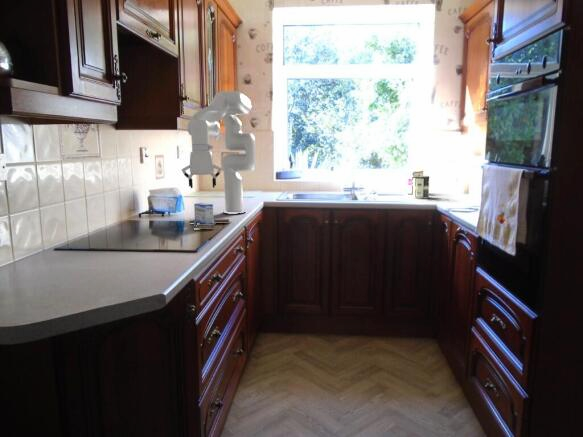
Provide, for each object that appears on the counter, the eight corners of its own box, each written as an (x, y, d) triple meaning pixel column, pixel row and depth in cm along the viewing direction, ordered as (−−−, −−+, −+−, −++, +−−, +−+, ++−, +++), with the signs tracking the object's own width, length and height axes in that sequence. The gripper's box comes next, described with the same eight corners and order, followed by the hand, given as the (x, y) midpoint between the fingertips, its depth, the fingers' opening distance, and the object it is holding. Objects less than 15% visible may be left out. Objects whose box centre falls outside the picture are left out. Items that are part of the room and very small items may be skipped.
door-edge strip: (190, 224, 208) (189, 220, 208) (229, 223, 211) (228, 219, 210) (189, 225, 207) (189, 220, 207) (229, 223, 210) (228, 219, 209)
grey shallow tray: (195, 225, 207) (195, 220, 207) (214, 224, 208) (214, 220, 208) (193, 230, 194) (192, 226, 194) (214, 229, 196) (213, 225, 195)
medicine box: (194, 222, 202) (193, 203, 200) (202, 221, 205) (201, 202, 204) (206, 224, 197) (205, 205, 196) (214, 223, 200) (213, 203, 199)
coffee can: (426, 196, 302) (426, 175, 300) (430, 198, 292) (431, 176, 289) (410, 196, 302) (411, 175, 300) (414, 198, 292) (415, 176, 290)
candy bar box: (412, 194, 313) (413, 171, 310) (406, 194, 317) (407, 170, 314) (422, 193, 319) (423, 170, 317) (417, 192, 323) (417, 170, 321)
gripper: (220, 148, 200) (222, 186, 203) (181, 148, 198) (183, 187, 201) (220, 148, 193) (222, 188, 196) (179, 149, 191) (181, 189, 194)
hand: (202, 187), depth 199 cm, fingers open, 9 cm apart
